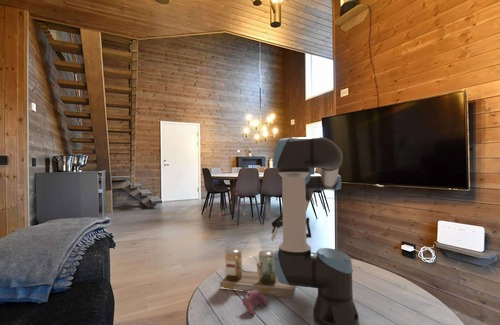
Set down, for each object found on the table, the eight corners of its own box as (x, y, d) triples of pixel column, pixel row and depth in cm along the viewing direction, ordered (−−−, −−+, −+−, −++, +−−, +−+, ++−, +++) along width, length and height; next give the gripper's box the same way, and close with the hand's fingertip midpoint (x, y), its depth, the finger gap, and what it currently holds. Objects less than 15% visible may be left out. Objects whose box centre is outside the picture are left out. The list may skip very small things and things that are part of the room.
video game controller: (261, 305, 101) (254, 287, 103) (269, 303, 98) (262, 285, 100) (245, 317, 93) (238, 297, 95) (253, 315, 90) (246, 295, 92)
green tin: (272, 276, 118) (272, 249, 118) (278, 283, 110) (278, 254, 110) (255, 278, 115) (255, 251, 116) (260, 285, 108) (260, 257, 108)
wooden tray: (293, 297, 103) (293, 290, 103) (220, 289, 111) (219, 282, 111) (296, 280, 118) (296, 273, 118) (231, 274, 126) (231, 268, 126)
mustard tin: (228, 273, 121) (228, 247, 122) (243, 274, 120) (243, 248, 120) (222, 280, 114) (222, 253, 114) (238, 282, 112) (238, 254, 112)
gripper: (323, 218, 128) (311, 256, 116) (278, 206, 140) (263, 239, 127) (323, 209, 123) (310, 248, 111) (276, 198, 135) (260, 232, 122)
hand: (285, 244), depth 119 cm, fingers open, 13 cm apart
